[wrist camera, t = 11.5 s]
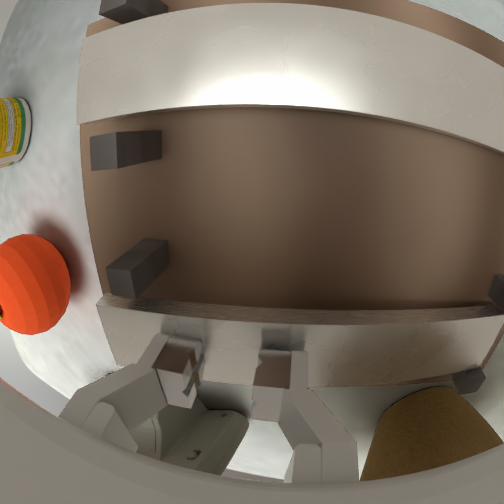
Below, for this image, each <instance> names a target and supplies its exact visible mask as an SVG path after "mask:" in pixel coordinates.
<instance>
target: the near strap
mask: <svg viewBox="0 0 504 504" xmlns="http://www.w3.org/2000/svg"><path fill="white" fill-rule="evenodd" d="M232 107H263V108H290V109H305V110H317V111H327V112H336V113H344V114H351V115H358V116H365V117H371V118H377V119H382V120H387V121H392V122H397V123H402V124H407V125H411V126H415V127H419V128H423V129H427V130H431V131H435V132H439V133H442V134H446V135H449V136H452V137H456V138H459V139H462V140H465V141H468V142H471V143H474V144H477V145H480V146H482V147H485V148H488V149H490V150H493V151H496V152H498V153H501V154H503V155H504V67H502V66H500V65H499V64H497V63H495V62H493V61H492V60H490V59H488V58H486V57H484V56H482V55H481V54H479V53H477V52H475V51H473V50H471V49H469V48H467V47H465V46H462V45H460V44H458V43H456V42H454V41H451V40H449V39H447V38H444V37H442V36H439V35H437V34H434V33H432V32H429V31H426V30H423V29H421V28H418V27H415V26H412V25H409V24H405V23H402V22H399V21H395V20H392V19H388V18H384V17H380V16H376V15H372V14H367V13H362V12H357V11H352V10H346V9H340V8H333V7H326V6H317V5H307V4H292V3H240V4H225V5H215V6H206V7H199V8H192V9H186V10H180V11H175V12H169V13H165V14H160V15H156V16H152V17H148V18H144V19H140V20H136V21H133V22H129V23H126V24H123V25H119V26H116V27H113V28H110V29H108V30H105V31H102V32H99V33H97V34H94V35H91V36H89V37H86V38H84V39H83V40H82V47H81V55H80V64H79V75H78V91H77V125H79V124H94V123H98V122H103V121H108V120H114V119H119V118H125V117H131V116H137V115H144V114H152V113H160V112H169V111H179V110H191V109H206V108H232Z"/></svg>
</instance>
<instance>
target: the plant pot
mask: <svg viewBox="0 0 504 504" xmlns="http://www.w3.org/2000/svg"><path fill="white" fill-rule="evenodd" d="M501 444H504V442H503V441H502V440H501V438H500V437H499V436H498V434H497V433H496V432H495V431H494V429H493V428H492V427H491V426H490V425H489V424H488V422H487V421H486V420H485V419H484V418H483V417H482V416H481V415H480V414H479V413H478V412H477V411H476V410H475V409H474V408H473V407H472V406H471V405H470V404H469V403H468V402H467V401H466V400H465V399H464V398H463V397H462V396H460V395H459V394H458V393H457V392H456V391H455V390H454V389H452V388H449V387H433V388H428V389H425V390H421V391H419V392H416V393H413V394H411V395H409V396H407V397H405V398H403V399H401V400H400V401H398V402H396V403H395V404H393V405H392V406H391V407H390V408H388V409H387V410H386V411H385V412H384V413H383V415H382V416H381V417H380V419H379V421H378V424H377V427H376V430H375V434H374V437H373V440H372V443H371V446H370V449H369V452H368V456H367V459H366V462H365V465H364V468H363V471H362V475H361V478H360V481H369V480H377V479H384V478H391V477H397V476H402V475H407V474H412V473H417V472H421V471H425V470H430V469H433V468H437V467H441V466H444V465H448V464H451V463H454V462H457V461H460V460H463V459H466V458H469V457H472V456H475V455H477V454H480V453H482V452H485V451H487V450H490V449H492V448H495V447H497V446H499V445H501Z"/></svg>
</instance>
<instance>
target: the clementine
mask: <svg viewBox="0 0 504 504" xmlns="http://www.w3.org/2000/svg"><path fill="white" fill-rule="evenodd" d="M70 290H71V280H70V276H69V271H68V268H67V265H66V263H65V261H64V259H63V257H62V255H61V254H60V253H59V251H58V250H57V249H56V248H55V247H54V246H53V245H52V244H51V243H50V242H49V241H47V240H45V239H43V238H41V237H39V236H36V235H29V234H22V235H18V236H15V237H12V238H9V239H7V240H6V241H5V242H4V243H2V244H1V245H0V321H1V322H2V323H3V324H4V325H5V326H6V327H8V328H9V329H11V330H14V331H16V332H18V333H21V334H27V335H34V334H38V333H42V332H46V331H48V330H49V329H51V328H52V327H54V326H55V325H56V324H57V322H58V321H59V320H60V318H61V317H62V316H63V315H64V313H65V311H66V308H67V306H68V303H69V299H70Z"/></svg>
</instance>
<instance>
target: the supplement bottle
mask: <svg viewBox="0 0 504 504" xmlns="http://www.w3.org/2000/svg"><path fill="white" fill-rule="evenodd" d="M30 132H31V114H30V110H29V107H28V105H27V103H26V102H25V101H24V100H23V99H21V98H2V99H0V168H2V167H5V166H9V165H12V164H15V163H17V162H18V161H19V160H20V159H21V158H22V157H23V155H24V153H25V151H26V149H27V146H28V142H29V136H30Z"/></svg>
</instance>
